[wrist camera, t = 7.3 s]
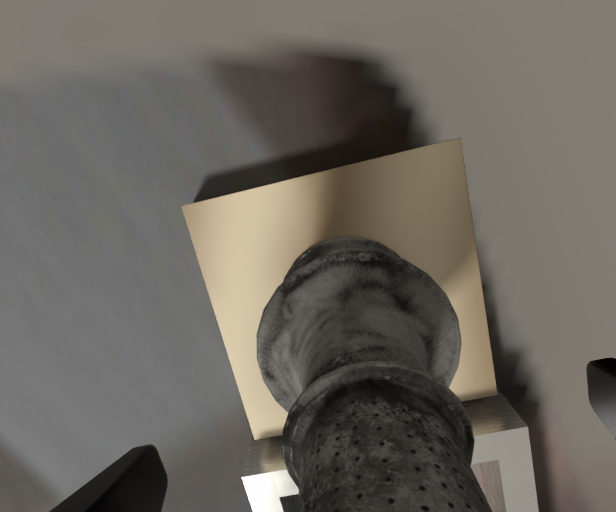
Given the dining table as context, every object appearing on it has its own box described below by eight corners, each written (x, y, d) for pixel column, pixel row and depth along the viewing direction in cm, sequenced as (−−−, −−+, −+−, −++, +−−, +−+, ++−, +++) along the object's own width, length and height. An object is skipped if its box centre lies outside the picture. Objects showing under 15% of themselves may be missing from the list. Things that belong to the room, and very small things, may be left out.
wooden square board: (448, 140, 14) (460, 137, 13) (484, 378, 16) (497, 394, 15) (192, 203, 15) (181, 206, 14) (259, 421, 17) (254, 440, 16)
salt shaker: (282, 216, 14) (67, 530, 2) (444, 242, 14) (1143, 696, 2) (261, 362, 15) (64, 1040, 3) (408, 385, 15) (701, 1132, 4)
